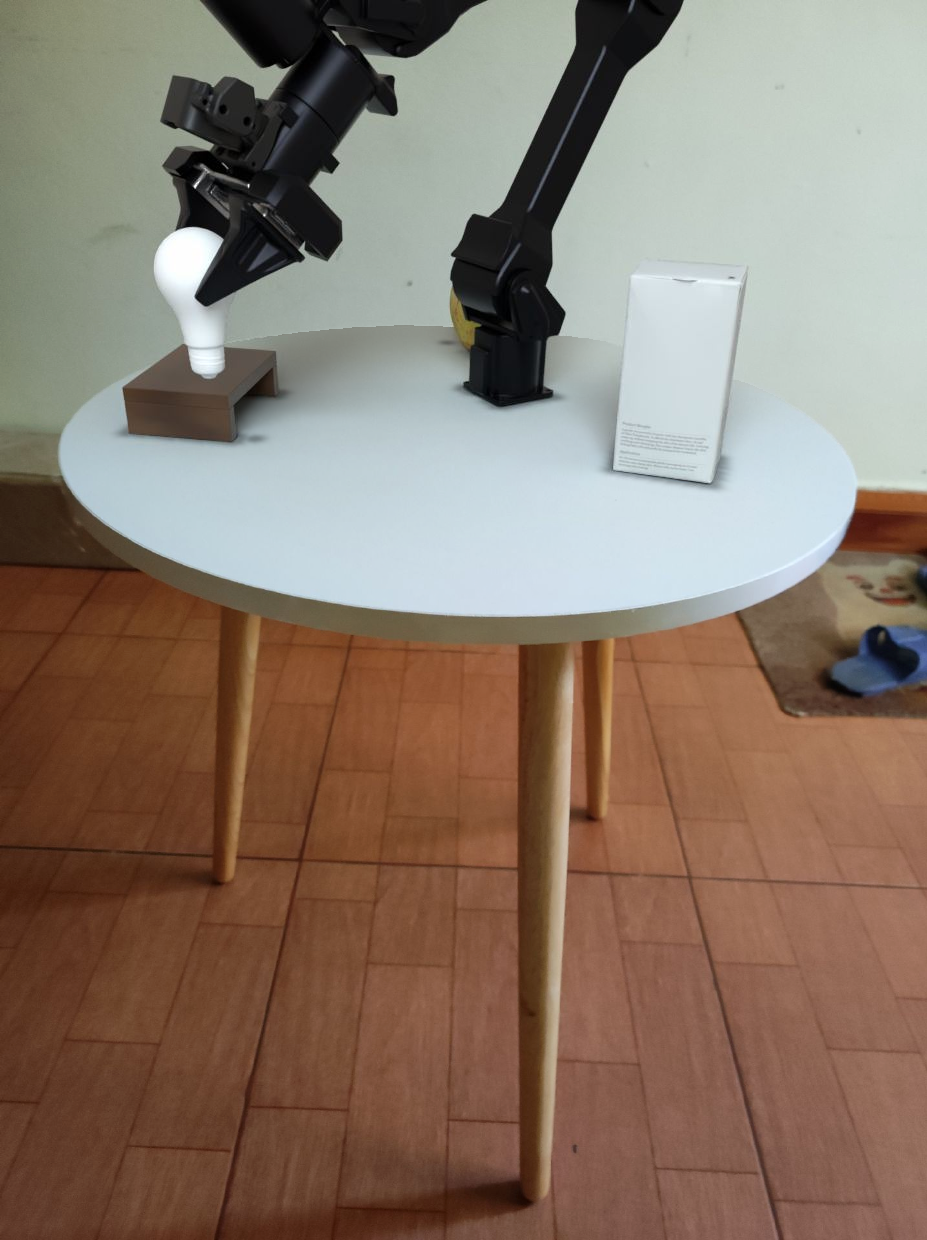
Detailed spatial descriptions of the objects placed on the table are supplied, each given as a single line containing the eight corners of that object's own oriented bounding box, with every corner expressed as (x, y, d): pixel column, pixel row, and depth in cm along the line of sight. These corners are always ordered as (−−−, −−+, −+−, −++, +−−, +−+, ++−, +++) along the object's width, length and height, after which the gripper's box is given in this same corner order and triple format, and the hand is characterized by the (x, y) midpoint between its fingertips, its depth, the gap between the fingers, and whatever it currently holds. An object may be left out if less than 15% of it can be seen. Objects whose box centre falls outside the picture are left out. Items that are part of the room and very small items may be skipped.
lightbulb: (241, 362, 80) (227, 218, 75) (256, 386, 76) (242, 233, 70) (164, 369, 78) (143, 221, 73) (174, 394, 74) (152, 237, 68)
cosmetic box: (721, 458, 83) (755, 264, 75) (711, 488, 78) (747, 282, 69) (622, 443, 85) (645, 253, 77) (606, 471, 80) (629, 270, 72)
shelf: (278, 392, 94) (276, 350, 92) (231, 442, 83) (227, 395, 80) (187, 385, 95) (182, 343, 92) (128, 433, 84) (121, 386, 81)
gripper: (171, 23, 73) (48, 196, 73) (291, 32, 60) (141, 241, 61) (276, 137, 81) (165, 292, 81) (401, 165, 69) (269, 349, 69)
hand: (181, 292), depth 73 cm, fingers closed on lightbulb, 6 cm apart
